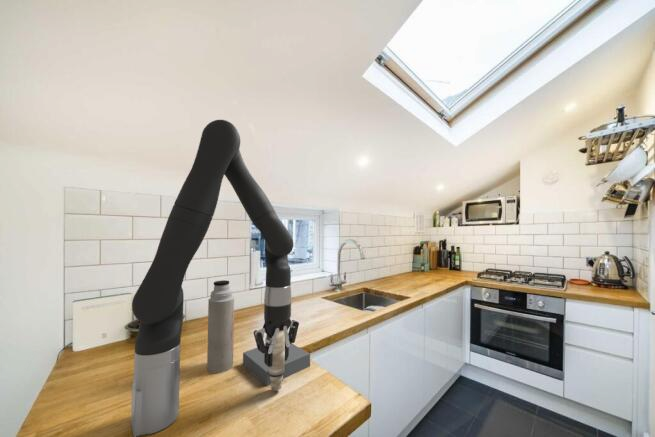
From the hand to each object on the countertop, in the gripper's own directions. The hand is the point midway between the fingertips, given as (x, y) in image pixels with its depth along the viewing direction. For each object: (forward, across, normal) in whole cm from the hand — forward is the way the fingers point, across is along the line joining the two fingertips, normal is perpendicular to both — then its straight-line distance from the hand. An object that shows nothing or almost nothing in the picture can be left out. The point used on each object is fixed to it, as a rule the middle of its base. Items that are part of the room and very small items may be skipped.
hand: (276, 362), depth 72 cm
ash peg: (+7, 0, 0) cm, 7 cm away
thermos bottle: (+8, -7, +24) cm, 26 cm away
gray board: (+8, +7, +12) cm, 16 cm away
